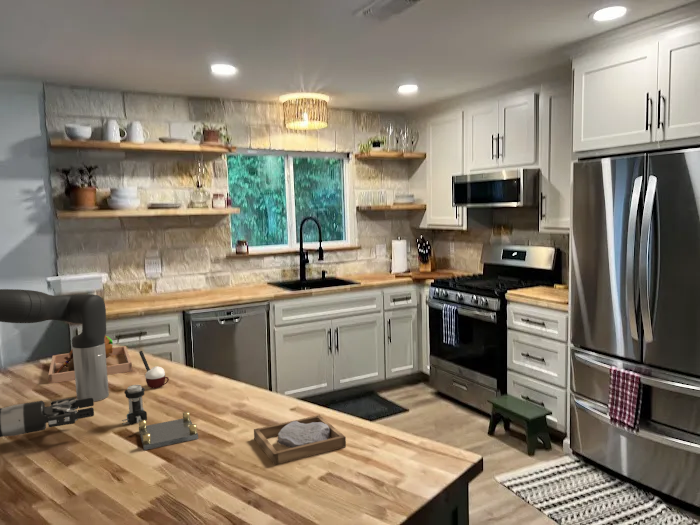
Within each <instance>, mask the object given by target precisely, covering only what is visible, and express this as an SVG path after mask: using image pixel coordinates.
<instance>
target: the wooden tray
mask: <svg viewBox="0 0 700 525" xmlns="http://www.w3.org/2000/svg"><path fill="white" fill-rule="evenodd" d="M127 348H128V347H127V346H126V345H123V346H121V345H120V346H114V347H113V346H112V349H113V352H112V354H110V353H109V354H110V355H111V356H115V355H117V356H118V355H124V358H125V362H124V363H118V364H112V365H107V376H109V375H114V374H121V373H126V372H133V364H132V363H133V362H132V360H131V357H130V355H129V351H128V349H127ZM69 353H70V352H69ZM69 353H61V354H55V355H52V358H51V361H50V365H49V371H48V374H47V375H48V384H54V383H60V382H61V383H62V382H68V381H74V380H75V371H69V372H66V371H64V372H59V373H56V365H57V364H60V363H65V362H66V361H67V360H66V359H64V358H65V357H67V356H68V358H69V357H70V355H69Z"/></svg>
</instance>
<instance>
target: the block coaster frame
mask: <svg viewBox="0 0 700 525" xmlns="http://www.w3.org/2000/svg"><path fill="white" fill-rule="evenodd" d="M292 421H298V422H299V423H304V424H309V423H312V422H322V423H324V424H327V425H328V427H329V429H330V437H329V439H327V440H322V441H318V442H314V443H310V444H306V445H302V446H297V447H293V448H291V447H288V448H286V449H281V450H276V448H275V447H274V446H273V445H272V444H271V443H270V442H269V440H268V438H272V437H278V434H279V432H280V431H281V429H282V428H283V427H284V426H286V425H287V424H289V423H291V422H292ZM253 439H254V440H255V441H256V443H257V444H258V446H259V447H260V448H261V449H262V451H263V452H264V453H265V455H266V456H267V457H268V458H269V459H270V461H271V462H272V463H273V465H279V464H283V463H287V462H290V461H296V460H299V459H303V458H307V457H310V456H314V455H319V454H323V453H326V452H327V453H328V452H331V451H334V450H338V449H339V450H340V449H342V448H346V447H347V444H346V443H347V442H346V441H347V440H346V439H347V438H346V435H344V434H343V433H341V431H339V430H338V429H337V428H336V427H335V426H334V425H332V424H331V423H329V421H327V420H326V419H324V417H322V416H321V415H320V414H318V415H315V416H313V415H312V416H310V417H305V418H299V419H295V420H290V421H287V422H281V423H276V424H272V425H268V426H262V427H258V428H253Z"/></svg>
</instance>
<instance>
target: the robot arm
mask: <svg viewBox="0 0 700 525" xmlns="http://www.w3.org/2000/svg"><path fill="white" fill-rule="evenodd" d="M106 310H107V309H106V304H105V301H104V299H103V298H102V297H101V296H100V295H98V294H88V293H80V294H79V293H75V294H68V295H67V294H65V295H64V294H63V295H51V294H47V293H46V292H42V291H38V290H31V289H15V288H14V289H13V288H12V289H8V288H2V289H1V288H0V322H1V323H6V324H7V323H8V324H9V323H11V324H36V323H42V322H45V321H58V322H66V323H72V324H82V325H81V326H82V327H81V333H80V334H76V335H74V336H73V337H72V339H71V345H72V347H71V350H72V349H73V360H74V371H75V382H74V383H75V393H76V394H75V395H76V397H70V398H64V399H58V400H52V401H51V402H50V405H48V406H46V405H45V402H44V400H38V401H32V402H24V403H19V404H18V403H17V404H13V405H10V406H5V407H2V408H0V438H2V437H15V436H19V435H25V434H30V433H36V432H41V431H45V430H46V428H47V425H48V428H55V427H61V426H66V425H73V424H76V421H78V420H81V419H87V418H90V417H94V416H95V409H94V407H93V406H94V404H95V402H98V401H101V400H104V399H107V398H108V397H109V395H110V394H109V391H110V390H109V379H108V375H107V366H108V365H107V358H106V352H105V340H104V339H105V335H106V336H107V311H106ZM77 409H78V410H77Z"/></svg>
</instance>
